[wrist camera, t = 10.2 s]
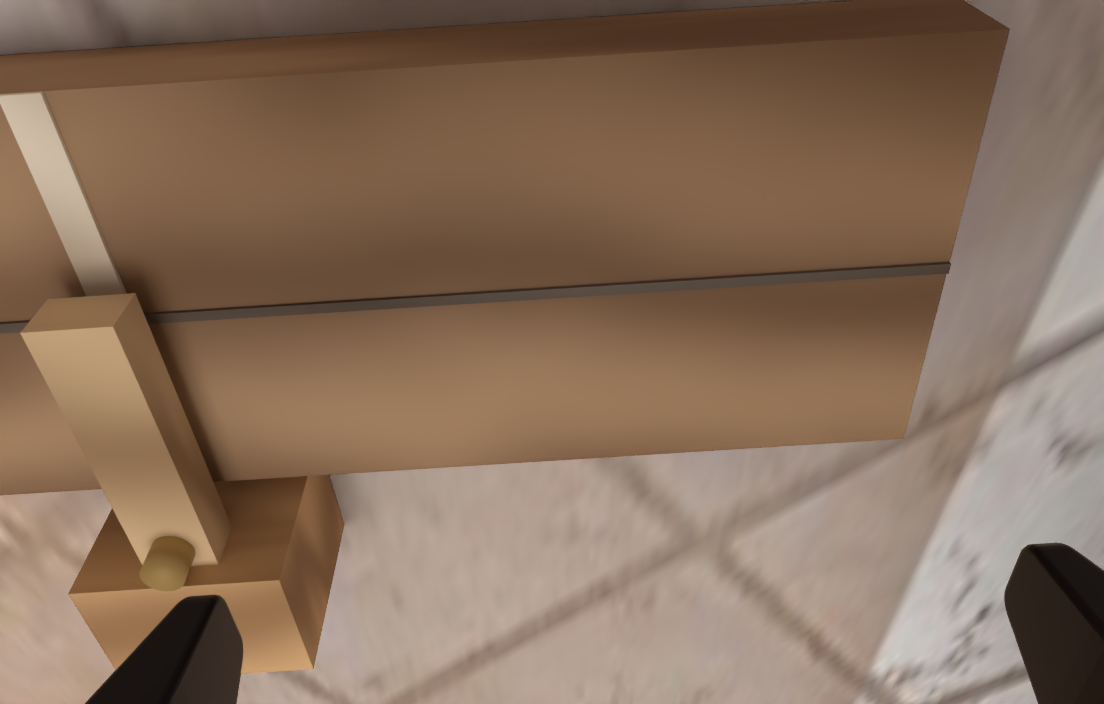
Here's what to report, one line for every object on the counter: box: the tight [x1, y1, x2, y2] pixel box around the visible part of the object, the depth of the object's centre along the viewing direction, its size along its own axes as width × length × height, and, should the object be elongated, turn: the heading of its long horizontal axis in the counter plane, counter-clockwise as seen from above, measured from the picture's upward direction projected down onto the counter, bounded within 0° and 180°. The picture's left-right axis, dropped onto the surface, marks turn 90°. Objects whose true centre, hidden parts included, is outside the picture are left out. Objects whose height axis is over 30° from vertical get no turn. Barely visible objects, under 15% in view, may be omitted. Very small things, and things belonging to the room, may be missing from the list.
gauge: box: [20, 293, 344, 674], centre depth 21 cm, size 11×5×5 cm, turn 3°
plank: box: [0, 0, 1010, 495], centre depth 19 cm, size 10×26×3 cm, turn 93°
